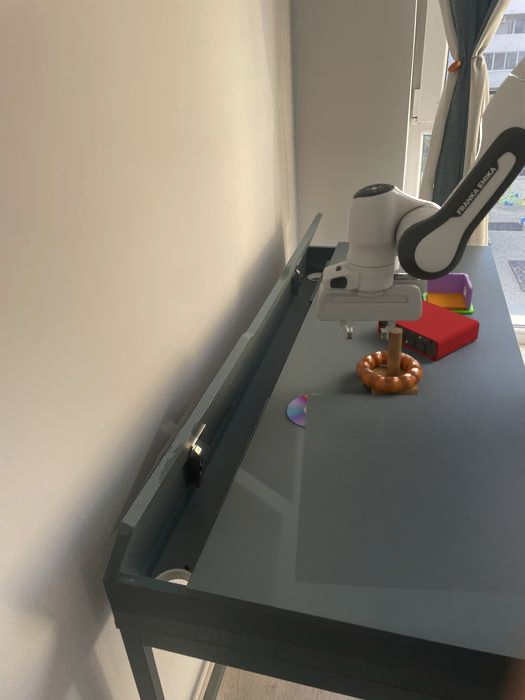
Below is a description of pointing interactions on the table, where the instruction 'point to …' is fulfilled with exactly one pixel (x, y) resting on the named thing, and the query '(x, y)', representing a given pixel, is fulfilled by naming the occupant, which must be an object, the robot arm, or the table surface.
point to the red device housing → (436, 331)
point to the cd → (298, 410)
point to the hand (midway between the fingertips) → (366, 338)
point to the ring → (388, 383)
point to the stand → (393, 364)
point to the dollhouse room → (451, 293)
